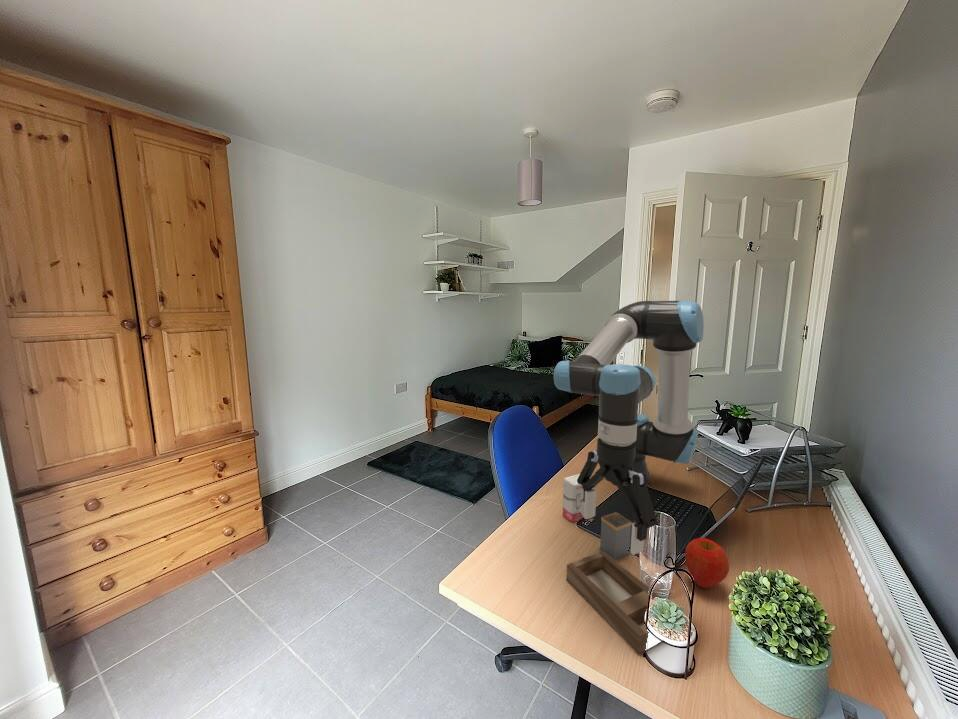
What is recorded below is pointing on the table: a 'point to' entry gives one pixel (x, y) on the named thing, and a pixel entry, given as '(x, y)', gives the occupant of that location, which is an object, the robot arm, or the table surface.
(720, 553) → the apple
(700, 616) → the table surface
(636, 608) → the block
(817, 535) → the table surface
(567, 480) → the ink box
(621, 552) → the square bit
